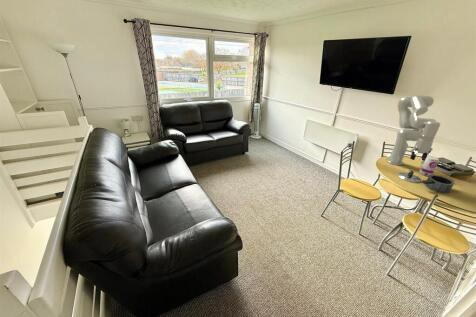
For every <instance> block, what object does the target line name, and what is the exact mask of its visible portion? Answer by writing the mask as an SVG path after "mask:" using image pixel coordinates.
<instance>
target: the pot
mask: <svg viewBox="0 0 476 317" xmlns="http://www.w3.org/2000/svg"><path fill="white" fill-rule="evenodd" d="M421 183H422V184H424V186H425V188H428V189H429V190H431V191H433V192H436V193H441V194H450V192H451V191H452V189H453V187H454V185H455V181H454V179H452V178H448V177H445V176H442V175H437V174H432V175H429V176H427V178H426V179H425V180H423V179H421Z"/></svg>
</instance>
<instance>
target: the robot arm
mask: <svg viewBox="0 0 476 317" xmlns="http://www.w3.org/2000/svg"><path fill="white" fill-rule="evenodd" d="M433 104H434V97H432V96H431V95H428V96H427V95H415V96H404V97H401V98H400V99H399V100H398V103H397V110H398V113H399V120H398V122H399V128H400V130H398V131H397V134H396V140H395V142H394V145H393V147H392V151H391V153H389V154H388V155H386V157H388V158H387V159H386V162H387V163H389V164H391V165H395V166H403V165H404V162H403V160H404V157H405V156H406V152H407V150H408V147H409V144H408V142H415V144H414V146H413V148H411V149H410V154H411V155H410V157H409V159H410V160H412V161H414V160H415V159H416V157H417V154H422V155H421V156H420V158H421V159H422V160H425V159H426V158H427V157H428V156H430V154H431V152H432V151H433V149H434V148H432V146H433V143H434V139H435V137H436V135H437V132H438V131H439V128H440V127H441V123H440V122H439V121H436V120H435V118H434V119H433V118H422V117H419V116H422V115H425V114H426V113H427V112H428V111H429V107H431V106H433ZM410 108H411V109H412V111H411V110H410Z"/></svg>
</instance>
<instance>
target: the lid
mask: <svg viewBox="0 0 476 317" xmlns="http://www.w3.org/2000/svg"><path fill="white" fill-rule="evenodd" d="M414 173H415V171H414V170H409V171H408V172H404V171H403V172H402V171H401V172H398V173H397V177H398V178H399V179H401V180H403V181H406V182H409V183H413V184H418V183H422V179H421V177H419V176H417V175H416V174H414Z"/></svg>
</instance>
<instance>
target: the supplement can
mask: <svg viewBox="0 0 476 317" xmlns="http://www.w3.org/2000/svg"><path fill="white" fill-rule="evenodd" d="M439 162H440V159H439V158H438V157H435V156H430V155H427V158H426V159H424V161H423V162H422V165H421V167H420V169H419V174H420V175H423V176H425V177H428V176H429V175H434V172H435V170H436V169H437V165H438V163H439Z"/></svg>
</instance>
